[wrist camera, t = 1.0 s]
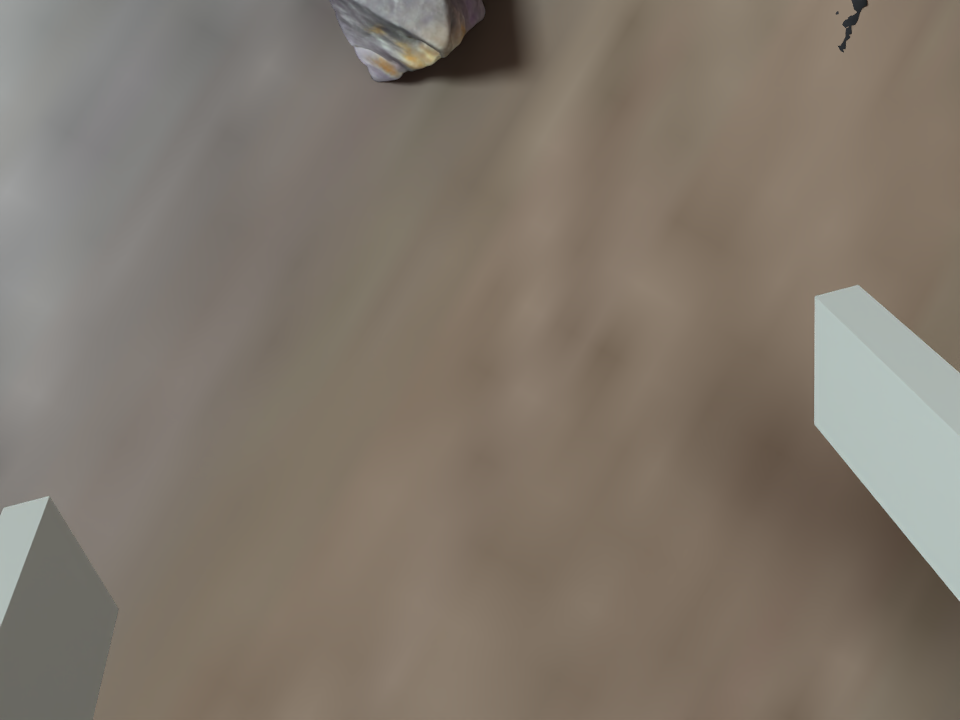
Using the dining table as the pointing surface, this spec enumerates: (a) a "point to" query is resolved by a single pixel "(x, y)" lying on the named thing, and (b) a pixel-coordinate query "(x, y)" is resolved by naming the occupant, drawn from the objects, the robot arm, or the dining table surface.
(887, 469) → the robot arm
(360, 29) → the mineral sample
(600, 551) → the dining table surface
